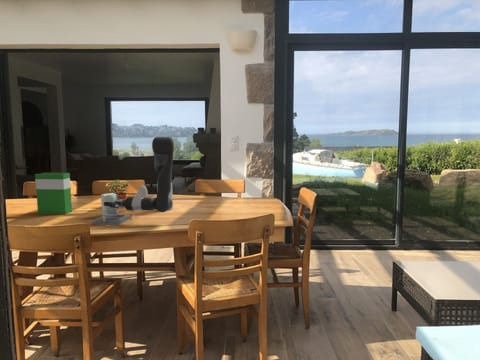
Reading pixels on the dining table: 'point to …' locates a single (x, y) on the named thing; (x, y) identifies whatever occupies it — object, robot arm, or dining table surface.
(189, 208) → the dining table surface
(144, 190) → the chess piece
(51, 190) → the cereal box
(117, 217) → the locating board
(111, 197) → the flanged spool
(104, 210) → the supplement box
